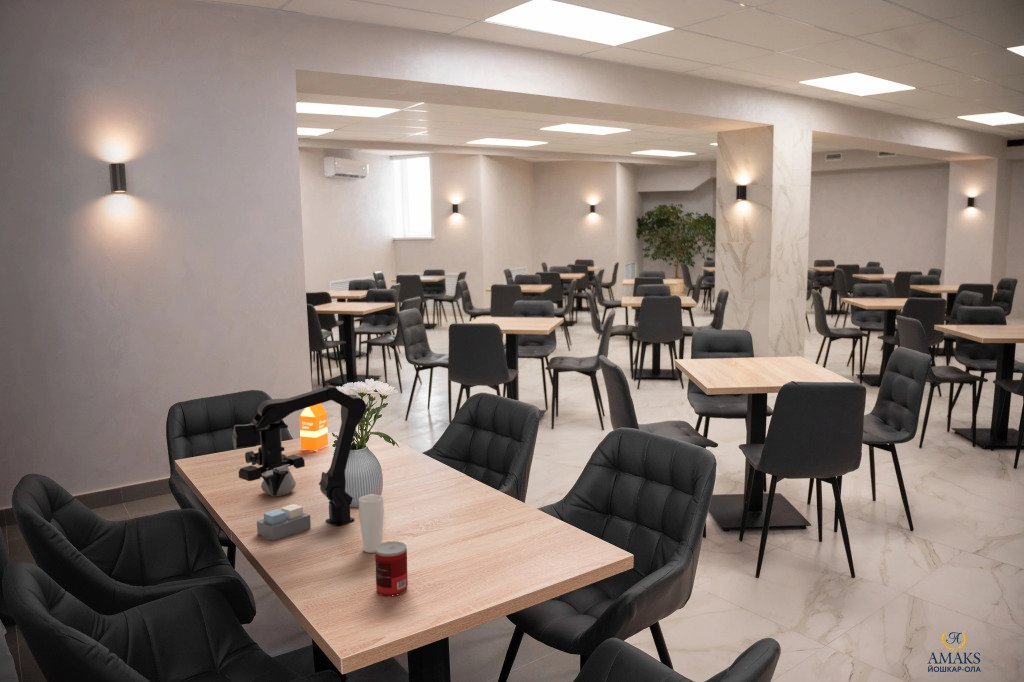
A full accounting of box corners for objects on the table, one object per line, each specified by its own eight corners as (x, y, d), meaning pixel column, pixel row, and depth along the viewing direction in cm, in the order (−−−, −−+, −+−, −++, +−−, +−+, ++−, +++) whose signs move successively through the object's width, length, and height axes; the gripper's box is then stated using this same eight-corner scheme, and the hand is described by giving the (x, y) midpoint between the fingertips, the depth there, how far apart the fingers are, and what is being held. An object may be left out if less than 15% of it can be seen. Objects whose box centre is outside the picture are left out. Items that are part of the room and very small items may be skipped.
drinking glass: (379, 555, 208) (377, 503, 206) (356, 553, 209) (354, 501, 207) (388, 546, 215) (386, 494, 213) (365, 544, 216) (364, 493, 214)
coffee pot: (258, 490, 263) (256, 449, 261) (291, 485, 269) (289, 444, 267) (272, 509, 245) (270, 464, 243) (307, 503, 251) (306, 459, 249)
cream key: (303, 519, 228) (302, 507, 228) (290, 523, 225) (290, 510, 225) (294, 516, 231) (294, 503, 231) (282, 520, 228) (281, 507, 227)
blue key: (285, 525, 224) (285, 512, 223) (272, 529, 221) (272, 516, 220) (277, 522, 227) (276, 509, 226) (264, 526, 223) (263, 513, 223)
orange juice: (300, 450, 315) (298, 403, 312) (312, 445, 323) (310, 399, 321) (316, 451, 312) (315, 404, 310) (328, 446, 321) (326, 400, 318)
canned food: (409, 582, 192) (408, 540, 190) (405, 596, 184) (404, 553, 182) (378, 582, 191) (377, 541, 190) (374, 597, 183) (372, 554, 182)
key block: (310, 527, 229) (310, 515, 228) (272, 540, 219) (272, 527, 218) (295, 521, 234) (294, 509, 233) (257, 534, 224) (256, 521, 223)
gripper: (283, 433, 233) (285, 482, 235) (226, 446, 218) (229, 498, 220) (304, 439, 226) (306, 489, 228) (248, 452, 211) (251, 506, 213)
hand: (273, 495), depth 222 cm, fingers closed
